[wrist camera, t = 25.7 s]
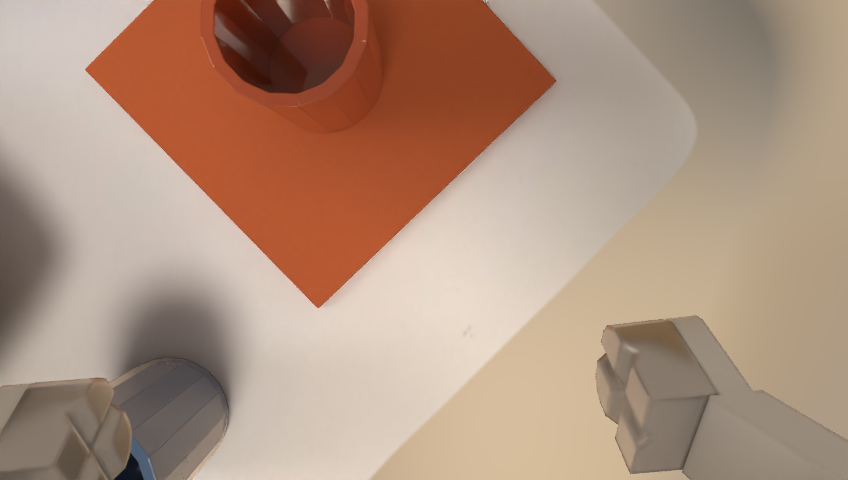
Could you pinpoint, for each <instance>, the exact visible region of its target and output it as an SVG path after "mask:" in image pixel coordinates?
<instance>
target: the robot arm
mask: <svg viewBox="0 0 848 480" xmlns="http://www.w3.org/2000/svg"><path fill="white" fill-rule="evenodd" d="M601 343H602V345H603V347H604V350H605V352H606V353H605V354H604V355H603V356H602V357H601V358H600V359H599V360H598V361H597V368H596V383H597V392H598V396H599V400H600V403H601V406H602V408H603V411H604V413H605V415H606V416H607V417H608V418H610V419H611V420H612V421H614V422H615V423H616V424H618V427H617V432H616V436H615V439H616V442H617V444H618V446H619V449H620V451H621V453H622V456H623V458H624V460H625V463H626V465H627V467H628V470H629V472H630V474H636V473H648V472H659V471H671V470H682V469H683V471H682V473H683V474H685V475H686V476H687V477H688V478H689V479H690V480H848V440H847V439H845V438H843V437H841V436H840V435H838V434H836V433H835V432H833V431H831V430H829V429H828V428H826V427H824V426H823V425H821V424H819V423H817V422H816V421H814V420H812V419H810V418H809V417H807V416H806V415H804V414H802V413H800V412H799V411H797V410H795V409H794V408H792V407H790V406H788V405H787V404H785V403H783V402H781V401H780V400H778V399H776V398H775V397H773V396H771V395H770V394H768V393H766V392H764V391H762V390H759V391H753V390H752V389H751V387H750V386H749V384H748V383H747V382H746V380H745V379H744V377H743V376H742V375H741V373H740V372H739V370H738V369H737V367H736V366H735V365H734V363H733V362H732V361H731V359H730V358H729V356H728V355H727V353H726V352H725V351H724V349H723V348H722V346H721V345H720V343H719V342H718V341H717V339H716V338H715V336H714V335H713V334H712V332H711V331H710V329H709V328H708V326H707V325H706V324H705V322H704V321H703V319H701V318H699V317H698V316H687V317H678V318H669V319H666V320H664V319H659V320H650V321H641V322H632V323H623V324H615V325H607V326H606V328H605V329H604V331H603V335H602V340H601ZM113 395H114V390H113V389H112V387H111V386H110V384H109V382H108V381H107V379H104V378H89V379H76V380H63V381H50V382H37V383H31V384H19V385H6V386H2V387H0V480H113V479H114V478H116V477H117V476H118V475H119V474H120V473H121V472H122V471H123V470H124V469H125V468H126V465H127V462H128V458H129V455H130V452H131V442H132V430H131V425H130V421H129V418H128V416H127V415H126V413H125V411H124V410H123V409H121V408H119V407H118V406H116V405H114V404H112V403H110V402H111V400H112V397H113Z"/></svg>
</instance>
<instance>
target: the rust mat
mask: <svg viewBox="0 0 848 480" xmlns="http://www.w3.org/2000/svg"><path fill="white" fill-rule="evenodd" d="M201 1H202V0H154V1H153V2H152V3H151V4H150V5H149V6H148V7H147V8H146V9H145V10H144V11H143V12H142V13H141V14H140V15H139V16H138V17H137V18H136V19H135V20H134V21H133V22H132V23H131V24H130V25H129V26H128V27H127V28H126V29H125V30H124V31H123V32H122V33H121V34H120V35H119V36H118V37H117V38H116V39H115V40H114V41H113V42H112V43H111V44H110V45H109V46H108V47H107V48H106V49H105V50H104V51H103V52H102V53H101V54H100V55H99V56H98V57H97V58H96V59H95V60H94V61H93V62H92V63H91V64H90V65H89V66H88V67H87V68H86V69H85V70H86V71H87V72H88V73H89V74H90V75H91V76H92V77H93V78H94V79H95V80H96V81H97V82H98V83H99V84H100V85H101V86H102V87H103V88H104V90H105V91H106V92H107V93H108V94H109V95H110V96H111V97H112V98H113V99H114V100H115V101H116V102H117V103H118V104H119V105H120V106H121V107H122V108H123V109H124V110H125V111H126V112H127V113H128V114H129V115H130V116H131V117H132V118H133V119H134V120H135V121H136V122H137V123H138V124H139V125H140V126H141V127H142V128H143V129H144V131H145V132H146V133H147V134H148V135H149V136H150V137H151V138H152V139H153V140H154V141H155V142H156V143H157V144H158V145H159V146H160V147H161V148H162V149H163V150H164V151H165V152H166V153H167V154H168V155H169V156H170V157H171V158H172V159H173V160H174V161H175V162H176V163H177V164H178V165H179V166H180V167H181V168H182V169H183V171H184V172H185V173H186V174H187V175H188V176H189V177H190V178H191V179H192V180H193V181H194V182H195V183H196V184H197V185H198V186H199V187H200V188H201V189H202V190H203V191H204V192H205V193H206V194H207V195H208V196H209V197H210V198H211V199H212V200H213V201H214V202H215V203H216V204H217V205H218V206H219V207H220V208H221V209H222V210H223V212H224V213H225V214H226V215H227V216H228V217H229V218H230V219H231V220H232V221H233V222H234V223H235V224H236V225H237V226H238V227H239V228H240V229H241V230H242V231H243V232H244V233H245V234H246V235H247V236H248V237H249V238H250V239H251V240H252V241H253V242H254V243H255V244H256V245H257V246H258V247H259V248H260V249H261V250H262V251H263V253H264V254H265V255H266V256H267V257H268V258H269V259H270V260H271V261H272V262H273V263H274V264H275V265H276V266H277V267H278V268H279V269H280V270H281V271H282V272H283V273H284V274H285V275H286V276H287V277H288V278H289V279H290V280H291V281H292V282H293V283H294V284H295V285H296V286H297V287H298V288H299V289H300V290H301V291H302V292H303V294H304V295H305V296H306V297H307V298H308V299H309V300H310V301H311V302H312V303H313V304H314V305H315V306H316V307H317V308H319V307H320V306H321V305H322V304H324V303H325V302H326V301H327V300H328V299H329V298H330V297H331V296H332V295H333V294H334V293H335V292H336V291H337V290H338V289H339V288H340V287H341V286H342V285H343V284H344V283H346V282H347V281H348V280H349V279H350V278H351V277H352V276H353V275H354V274H355V273H356V272H357V271H358V270H359V269H360V268H361V267H362V266H363V265H364V264H365V263H366V262H367V261H369V260H370V259H371V258H372V257H373V256H374V255H375V254H376V253H377V252H378V251H379V250H380V249H381V248H382V247H383V246H384V245H385V244H386V243H387V242H388V241H389V240H391V239H392V238H393V237H394V236H395V235H396V234H397V233H398V232H399V231H400V230H401V229H402V228H403V227H404V226H405V225H406V224H407V223H408V222H409V221H410V220H411V219H412V218H414V217H415V216H416V215H417V214H418V213H419V212H420V211H421V210H422V209H423V208H424V207H425V206H426V205H427V204H428V203H429V202H430V201H431V200H432V199H433V198H434V197H436V196H437V195H438V194H439V193H440V192H441V191H442V190H443V189H444V188H445V187H446V186H447V185H448V184H449V183H450V182H451V181H452V180H453V179H454V178H455V177H456V176H457V175H459V174H460V173H461V172H462V171H463V170H464V169H465V168H466V167H467V166H468V165H469V164H470V163H471V162H472V161H473V160H474V159H475V158H476V157H477V156H478V155H479V154H481V153H482V152H483V151H484V150H485V149H486V148H487V147H488V146H489V145H490V144H491V143H492V142H493V141H494V140H495V139H496V138H497V137H498V136H499V135H500V134H501V133H502V132H504V131H505V130H506V129H507V128H508V127H509V126H510V125H511V124H512V123H513V122H514V121H515V120H516V119H517V118H518V117H519V116H520V115H521V114H522V113H523V112H524V111H526V110H527V109H528V108H529V107H530V106H531V105H532V104H533V103H534V102H535V101H536V100H537V99H538V98H539V97H540V96H541V95H542V94H543V93H544V92H545V91H546V90H547V89H549V88H550V87H551V86H552V85H553V84H554V83H555V82H556V80H555V79H554V78H553V77H552V76H551V75H550V73H549V72H548V71H547V70H546V69H545V68H544V67H543V66H542V65H541V64H540V63H539V62H538V61H537V59H536V58H535V57H534V56H533V55H532V54H531V53H530V52H529V51H528V50H527V49H526V48H525V46H524V45H523V44H522V43H521V42H520V41H519V40H518V39H517V38H516V37H515V36H514V35H513V33H512V32H511V31H510V30H509V29H508V28H507V27H506V26H505V25H504V24H503V23H502V22H501V21H500V19H499V18H498V17H497V16H496V15H495V14H494V13H493V12H492V11H491V10H490V9H489V8H488V6H487V5H486V4H485V3H484V2H483V1H482V0H366V3H367V6H368V9H369V12H370V16H371V19H372V23H373V26H374V30H375V33H376V37H377V41H378V44H379V48H380V51H381V55H382V58H383V84H382V88H381V92H380V95H379V97H378V99H377V101H376V103H375V105H374V107H373V108H372V109H371V111H370V112H369V113H368V114H367V115H366V116H365V117H364V118H363V119H362V120H361V121H360V122H358V123H357V124H355V125H354V126H352V127H350V128H348V129H345V130H342V131H339V132H334V133H313V132H308V131H305V130H303V129H300V128H298V127H296V126H294V125H292V124H290V123H288V122H286V121H284V120H282V119H280V118H279V117H277V116H275V115H274V114H272V113H270V112H269V111H267V110H265V109H263V108H262V107H260V106H258V105H257V104H255V103H253V102H251V101H250V100H248V99H246V98H245V97H243V96H241V95H239V94H238V93H237V92H235V91H234V90H233V89H232V88H231V87H230V86H229V85H228V84H227V83H226V82H225V80H224V79H223V78H222V77H221V76H220V75H219V74H218V73H217V72H216V71H215V70H214V68H213V67H212V65H211V62H210V60H209V57H208V54H207V52H206V49H205V47H204V44H203V42H202V39H201V35H200V31H201V3H202V2H201Z"/></svg>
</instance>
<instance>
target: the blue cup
mask: <svg viewBox="0 0 848 480" xmlns="http://www.w3.org/2000/svg"><path fill="white" fill-rule="evenodd" d="M109 384H110V386H111V387H112V389H113V390H114V395H113V397H112V400H111V402H110V403H112V404H114V405H116V406H118V407H119V408H121V409H123V410H124V411H125V413H126V415H127V416H128V418H129V421H130V425H131V430H132V442H131V452H130V455H129V458H128V462H127V465H126V468H125V469H124V470H123V471H122V472H121V473H120V474H119V475H118V476H117V477H116V478H114V479H113V480H192V479H193V478H194V477H195V476H196V474H197V473H198V472H199V471H200V470H201V468H202V467H203V466H204V465H205V464H206V462H207V461H208V460H209V459H210V458H211V456H212V455H213V453H214V451H215V450H216V449H217V448H218V446H219V444H220V443H221V441H222V439H223V437H224V435H225V432H226V429H227V424H228V406H227V402H226V398H225V395H224V393H223V391H222V389H221V387H220V385H219V384H218V382H217V381H216V380H215V378H214V377H213V376H212V375H211V374H210V373H209V372H207V371H206V370H205V369H203V368H202V367H200V366H199V365H197V364H195V363H193V362H190V361H187V360H183V359H178V358H161V359H156V360H152V361H149V362H147V363H145V364H143V365H140V366H137V367H135V368H134V369H132V370H130V371H129V372H127V373H125V374H123V375H122V376H120V377H118V378H116V379H115V380H113V381H111V382H109Z"/></svg>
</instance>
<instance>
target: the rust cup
mask: <svg viewBox="0 0 848 480" xmlns="http://www.w3.org/2000/svg"><path fill="white" fill-rule="evenodd" d="M201 2H202V3H201V31H200V35H201V39H202V42H203V44H204V47H205V49H206V52H207V54H208V57H209V60H210V62H211V65H212V67H213V68H214V70H215V71H216V72H217V73H218V74H219V75H220V76H221V77H222V78H223V79H224V80H225V82H226V83H227V84H228V85H229V86H230V87H231V88H232V89H233V90H234V91H235V92H237V93H238V94H239V95H241V96H243V97H245V98H246V99H248V100H250V101H251V102H253V103H255V104H257V105H258V106H260V107H262V108H263V109H265V110H267V111H269V112H270V113H272V114H274V115H275V116H277V117H279V118H280V119H282V120H284V121H286V122H288V123H290V124H292V125H294V126H296V127H298V128H300V129H303V130H305V131H308V132H313V133H334V132H339V131H342V130H345V129H348V128H350V127H352V126H354V125H355V124H357V123H358V122H360V121H361V120H362V119H363V118H364V117H365V116H366V115H367V114H368V113H369V112H370V111H371V109H372V108H373V107H374V105H375V103H376V101H377V99H378V97H379V95H380V92H381V88H382V84H383V58H382V55H381V51H380V48H379V44H378V41H377V37H376V33H375V30H374V26H373V23H372V19H371V16H370V12H369V9H368V6H367V3H366V0H202V1H201Z"/></svg>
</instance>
